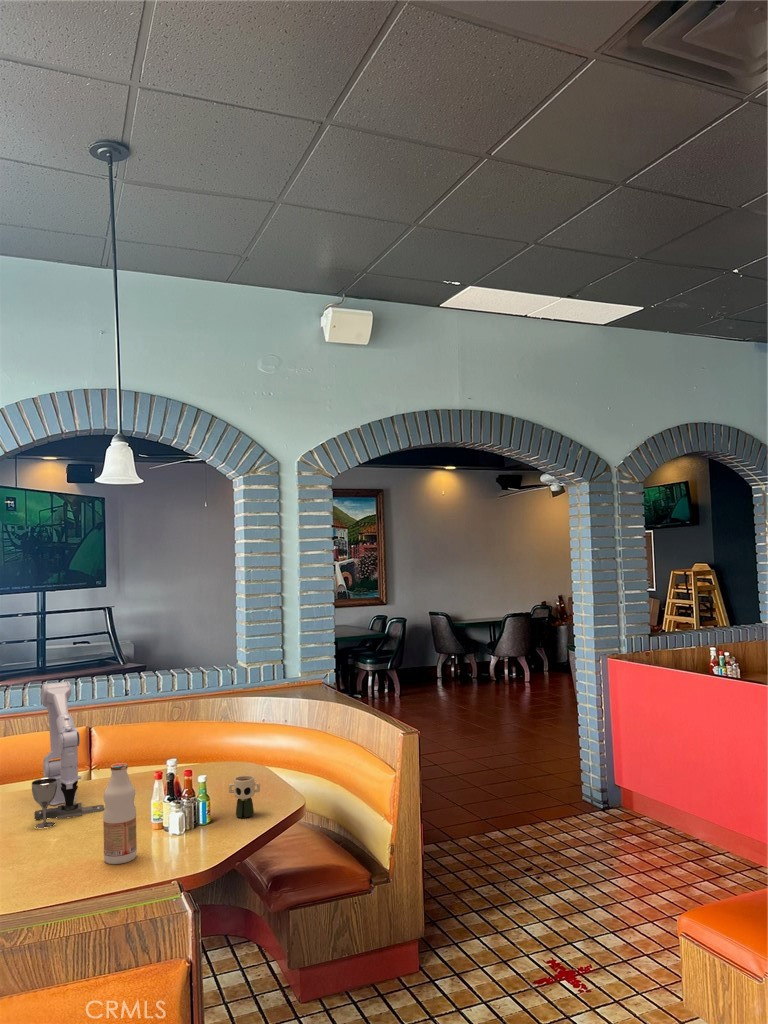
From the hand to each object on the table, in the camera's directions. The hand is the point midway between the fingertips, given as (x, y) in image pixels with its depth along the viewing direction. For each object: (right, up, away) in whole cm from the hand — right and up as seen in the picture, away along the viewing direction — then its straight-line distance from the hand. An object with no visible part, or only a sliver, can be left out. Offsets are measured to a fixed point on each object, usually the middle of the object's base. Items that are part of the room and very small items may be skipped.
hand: (69, 804), depth 277 cm
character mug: (+64, -1, -8) cm, 65 cm away
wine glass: (-4, -3, -11) cm, 12 cm away
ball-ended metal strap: (0, -4, 0) cm, 3 cm away
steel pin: (0, -3, 0) cm, 3 cm away
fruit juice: (+33, -1, -43) cm, 54 cm away
